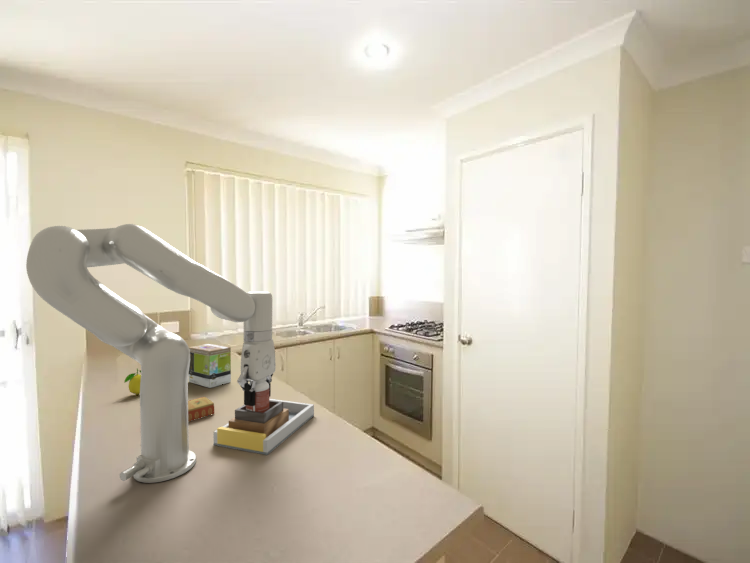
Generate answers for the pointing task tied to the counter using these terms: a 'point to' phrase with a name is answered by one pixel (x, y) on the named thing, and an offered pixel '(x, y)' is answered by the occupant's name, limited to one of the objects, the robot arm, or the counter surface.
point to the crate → (260, 419)
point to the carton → (200, 408)
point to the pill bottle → (260, 396)
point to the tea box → (210, 365)
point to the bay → (258, 441)
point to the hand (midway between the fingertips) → (257, 400)
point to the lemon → (134, 382)
